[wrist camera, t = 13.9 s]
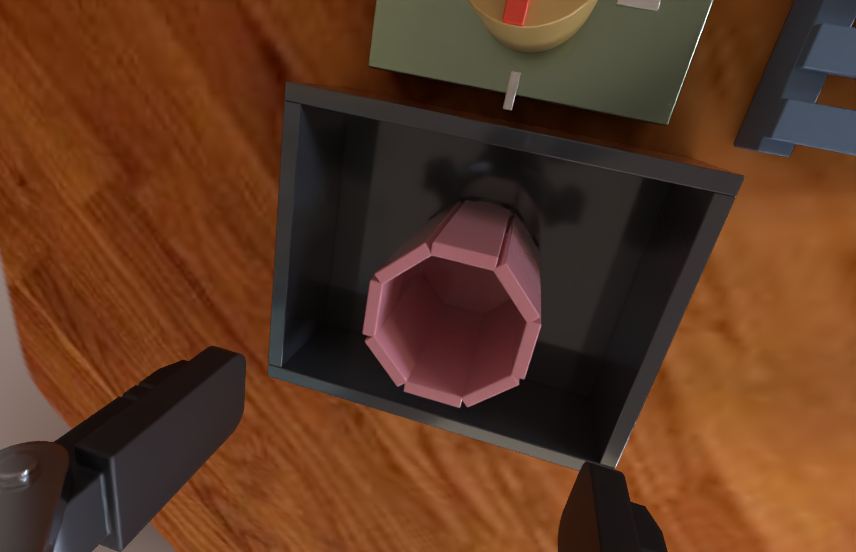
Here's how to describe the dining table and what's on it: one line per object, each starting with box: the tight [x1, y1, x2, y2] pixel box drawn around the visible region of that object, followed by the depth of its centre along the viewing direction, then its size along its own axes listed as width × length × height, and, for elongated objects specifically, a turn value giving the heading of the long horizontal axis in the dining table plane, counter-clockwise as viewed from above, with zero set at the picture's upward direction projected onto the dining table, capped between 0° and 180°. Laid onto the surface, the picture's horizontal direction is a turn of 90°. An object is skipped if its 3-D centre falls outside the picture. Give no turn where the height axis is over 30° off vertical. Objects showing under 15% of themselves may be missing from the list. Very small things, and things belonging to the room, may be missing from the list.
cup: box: [362, 200, 541, 408], centre depth 20 cm, size 6×6×8 cm
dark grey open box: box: [268, 81, 744, 471], centre depth 21 cm, size 13×16×6 cm
